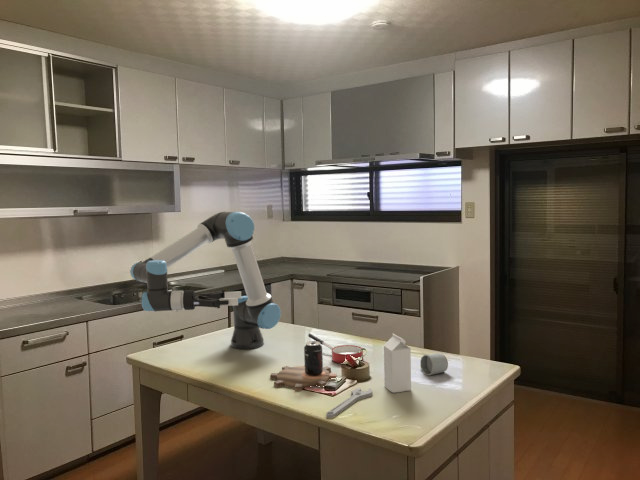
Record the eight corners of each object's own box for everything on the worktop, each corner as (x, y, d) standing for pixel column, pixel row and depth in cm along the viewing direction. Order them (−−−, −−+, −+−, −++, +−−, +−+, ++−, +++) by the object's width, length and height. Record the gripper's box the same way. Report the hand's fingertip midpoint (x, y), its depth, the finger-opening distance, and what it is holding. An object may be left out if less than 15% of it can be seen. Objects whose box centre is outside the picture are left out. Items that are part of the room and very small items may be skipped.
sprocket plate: (277, 367, 213) (277, 363, 212) (339, 367, 210) (338, 363, 209) (263, 390, 188) (263, 385, 188) (333, 391, 185) (333, 386, 185)
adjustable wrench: (331, 420, 162) (331, 415, 162) (315, 415, 166) (315, 410, 166) (375, 394, 182) (375, 389, 182) (359, 390, 186) (359, 385, 186)
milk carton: (392, 393, 181) (391, 339, 180) (384, 386, 188) (383, 334, 186) (411, 390, 183) (410, 337, 182) (402, 383, 190) (401, 332, 188)
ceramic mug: (449, 374, 199) (449, 354, 199) (432, 378, 195) (432, 357, 195) (431, 366, 208) (431, 347, 208) (414, 370, 205) (414, 351, 204)
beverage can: (324, 371, 200) (324, 340, 199) (320, 377, 194) (319, 346, 193) (307, 370, 202) (306, 340, 201) (302, 376, 196) (301, 345, 195)
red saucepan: (295, 351, 234) (294, 337, 233) (316, 345, 243) (315, 331, 242) (348, 366, 211) (348, 351, 210) (369, 359, 220) (369, 344, 219)
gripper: (190, 303, 215) (242, 301, 216) (177, 317, 190) (236, 314, 191) (189, 285, 214) (241, 283, 216) (176, 296, 190) (235, 294, 191)
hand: (239, 298), depth 204 cm, fingers open, 13 cm apart
